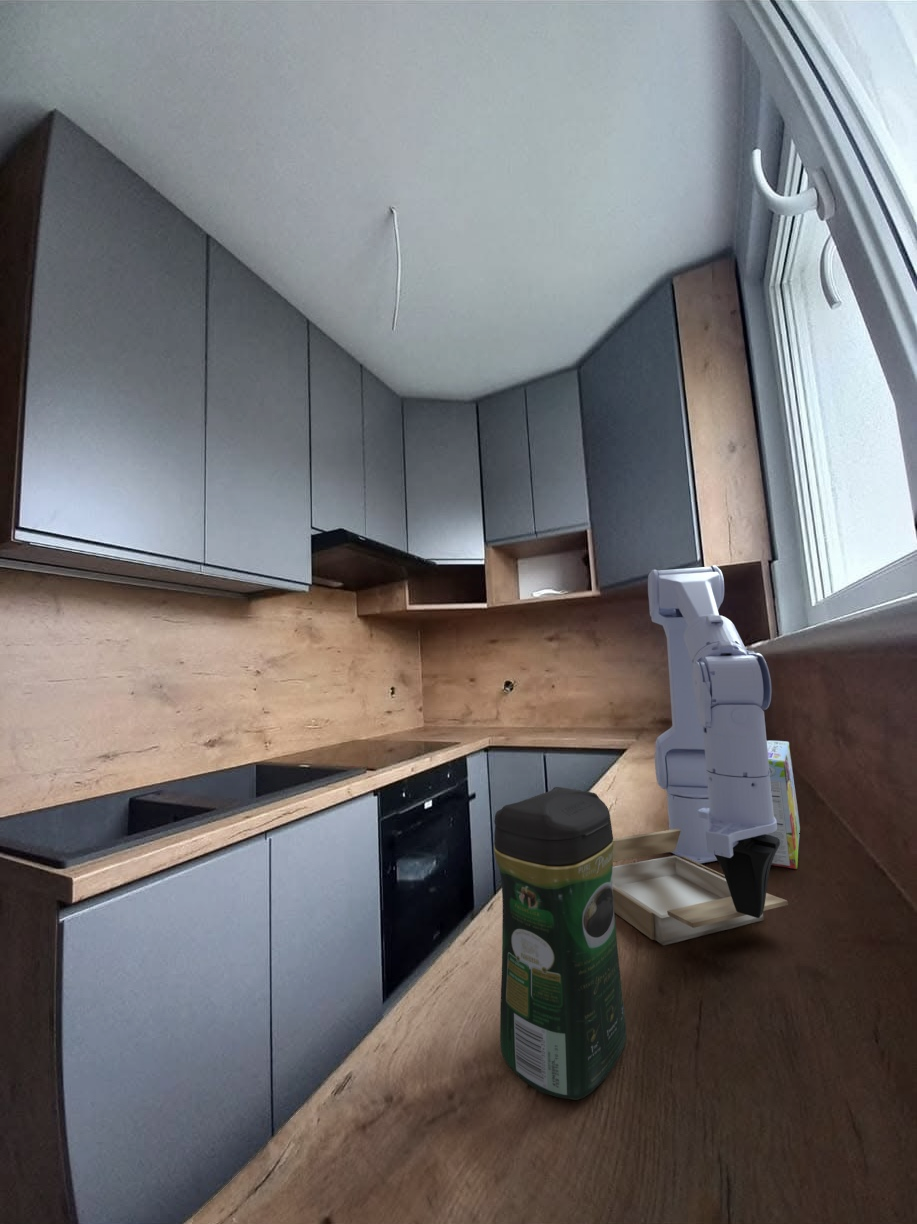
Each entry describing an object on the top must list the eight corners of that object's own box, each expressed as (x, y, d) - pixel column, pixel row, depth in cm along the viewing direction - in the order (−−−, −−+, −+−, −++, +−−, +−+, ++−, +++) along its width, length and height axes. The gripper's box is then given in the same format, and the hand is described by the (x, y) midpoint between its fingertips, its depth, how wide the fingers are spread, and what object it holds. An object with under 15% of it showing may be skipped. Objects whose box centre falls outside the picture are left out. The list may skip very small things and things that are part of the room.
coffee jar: (551, 996, 42) (542, 776, 45) (640, 1040, 37) (626, 789, 39) (480, 1062, 35) (474, 797, 38) (578, 1130, 30) (565, 816, 32)
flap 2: (758, 890, 54) (787, 900, 51) (759, 894, 54) (788, 904, 51) (667, 910, 50) (692, 923, 47) (667, 915, 50) (693, 927, 47)
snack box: (763, 824, 88) (755, 739, 89) (801, 829, 84) (792, 741, 86) (752, 863, 70) (743, 756, 72) (799, 871, 67) (788, 759, 69)
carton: (679, 874, 67) (677, 853, 67) (766, 919, 54) (764, 893, 55) (586, 893, 62) (585, 870, 62) (659, 946, 50) (657, 917, 50)
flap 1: (672, 848, 66) (678, 828, 66) (674, 850, 66) (680, 830, 65) (593, 862, 62) (598, 840, 61) (594, 864, 62) (600, 843, 61)
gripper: (719, 757, 58) (729, 878, 56) (669, 777, 48) (679, 925, 46) (788, 765, 53) (802, 897, 51) (749, 789, 43) (764, 955, 41)
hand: (749, 912), depth 48 cm, fingers closed
